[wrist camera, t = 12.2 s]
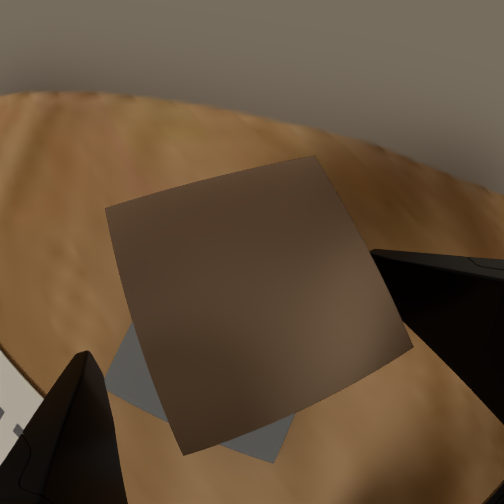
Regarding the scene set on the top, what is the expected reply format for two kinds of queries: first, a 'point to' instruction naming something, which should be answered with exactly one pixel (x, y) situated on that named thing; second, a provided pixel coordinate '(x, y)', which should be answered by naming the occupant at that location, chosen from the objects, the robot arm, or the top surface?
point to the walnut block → (251, 298)
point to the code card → (14, 404)
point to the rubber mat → (146, 398)
